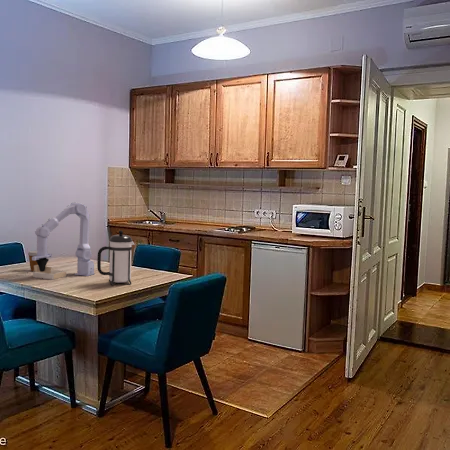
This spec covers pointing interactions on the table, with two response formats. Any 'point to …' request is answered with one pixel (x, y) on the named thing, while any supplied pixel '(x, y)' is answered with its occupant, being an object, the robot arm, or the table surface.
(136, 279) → the table surface
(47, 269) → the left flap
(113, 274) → the coffee press
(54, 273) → the carton
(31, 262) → the disposable coffee cup
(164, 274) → the table surface
